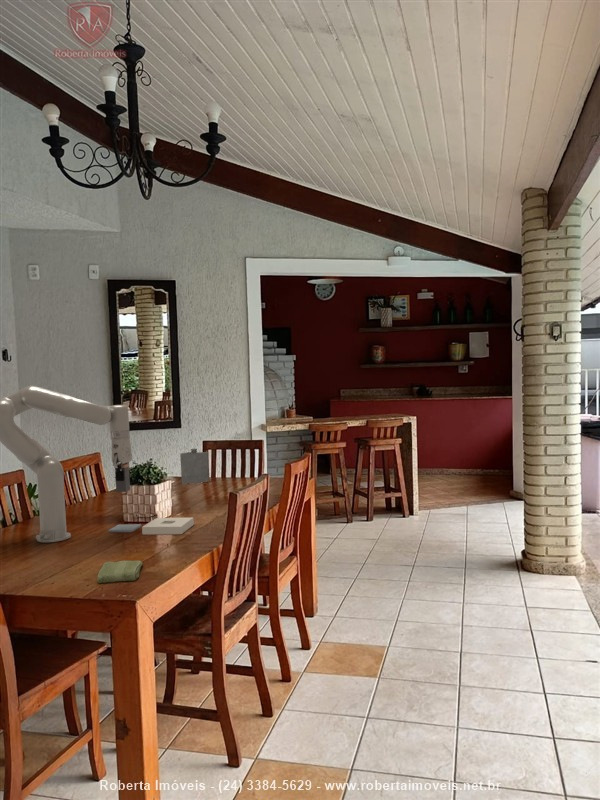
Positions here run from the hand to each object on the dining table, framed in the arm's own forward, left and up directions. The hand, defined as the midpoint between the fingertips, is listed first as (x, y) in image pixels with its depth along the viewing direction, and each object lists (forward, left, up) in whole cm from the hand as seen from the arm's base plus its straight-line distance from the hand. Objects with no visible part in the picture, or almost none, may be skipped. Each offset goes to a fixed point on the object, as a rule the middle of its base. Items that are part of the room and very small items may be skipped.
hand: (122, 479), depth 271 cm
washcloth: (-59, -24, -21) cm, 67 cm away
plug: (0, 0, -5) cm, 5 cm away
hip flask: (+109, +4, -21) cm, 111 cm away
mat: (0, 0, -21) cm, 21 cm away
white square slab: (-1, -19, -21) cm, 28 cm away
